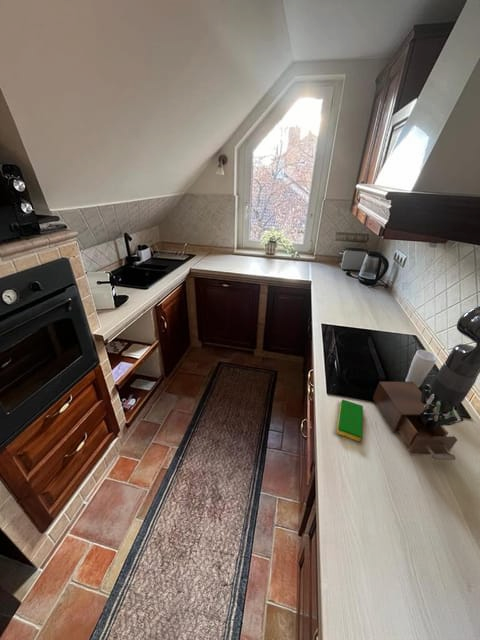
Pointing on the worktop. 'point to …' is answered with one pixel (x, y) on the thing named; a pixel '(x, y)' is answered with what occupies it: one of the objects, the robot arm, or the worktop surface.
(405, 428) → the drawer
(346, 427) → the dish sponge
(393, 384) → the cabinet
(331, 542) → the worktop surface
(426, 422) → the clip
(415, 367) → the drinking glass
